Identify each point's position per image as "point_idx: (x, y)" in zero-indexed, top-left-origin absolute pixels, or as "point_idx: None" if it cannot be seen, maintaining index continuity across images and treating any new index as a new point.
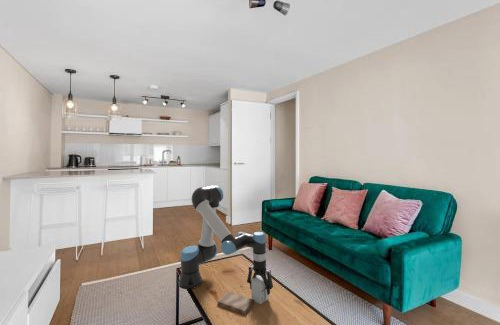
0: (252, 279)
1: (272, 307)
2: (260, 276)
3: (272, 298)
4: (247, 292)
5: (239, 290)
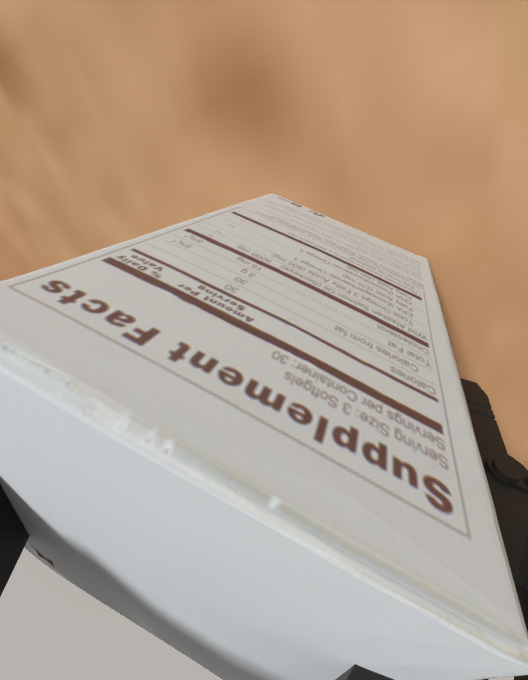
0: (45, 559)
1: (493, 410)
2: (89, 488)
3: (504, 230)
4: (135, 192)
5: (53, 182)
